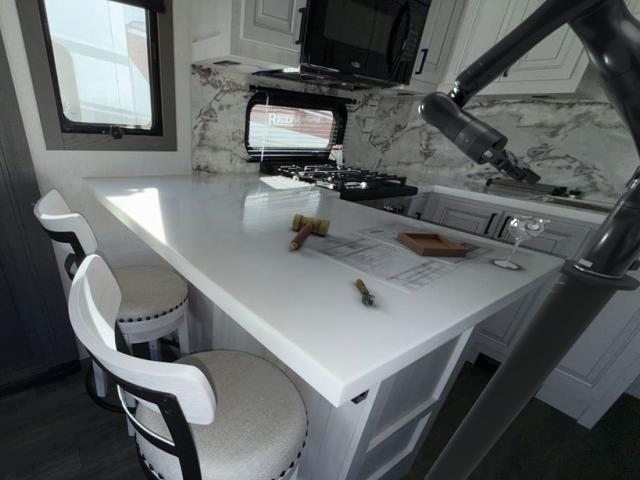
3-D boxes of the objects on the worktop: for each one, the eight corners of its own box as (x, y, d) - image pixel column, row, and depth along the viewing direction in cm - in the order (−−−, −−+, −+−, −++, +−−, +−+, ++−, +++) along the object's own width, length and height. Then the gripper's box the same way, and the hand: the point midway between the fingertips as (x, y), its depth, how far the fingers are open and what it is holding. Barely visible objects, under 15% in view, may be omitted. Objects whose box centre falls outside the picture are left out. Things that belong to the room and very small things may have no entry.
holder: (435, 240, 92) (438, 233, 91) (465, 256, 81) (468, 249, 80) (396, 238, 91) (398, 232, 90) (421, 255, 80) (424, 248, 79)
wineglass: (488, 264, 78) (513, 217, 72) (491, 257, 82) (514, 212, 76) (521, 272, 74) (550, 224, 68) (522, 265, 79) (550, 218, 73)
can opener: (355, 283, 63) (356, 278, 63) (366, 284, 63) (368, 279, 62) (363, 305, 56) (365, 300, 55) (376, 307, 55) (378, 302, 55)
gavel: (313, 243, 73) (274, 235, 76) (310, 260, 75) (272, 252, 79) (330, 217, 89) (297, 211, 92) (327, 232, 91) (295, 226, 95)
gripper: (481, 122, 73) (537, 163, 66) (504, 132, 81) (557, 169, 73) (454, 152, 79) (503, 192, 71) (478, 158, 86) (525, 195, 79)
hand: (531, 180), depth 72 cm, fingers open, 8 cm apart
